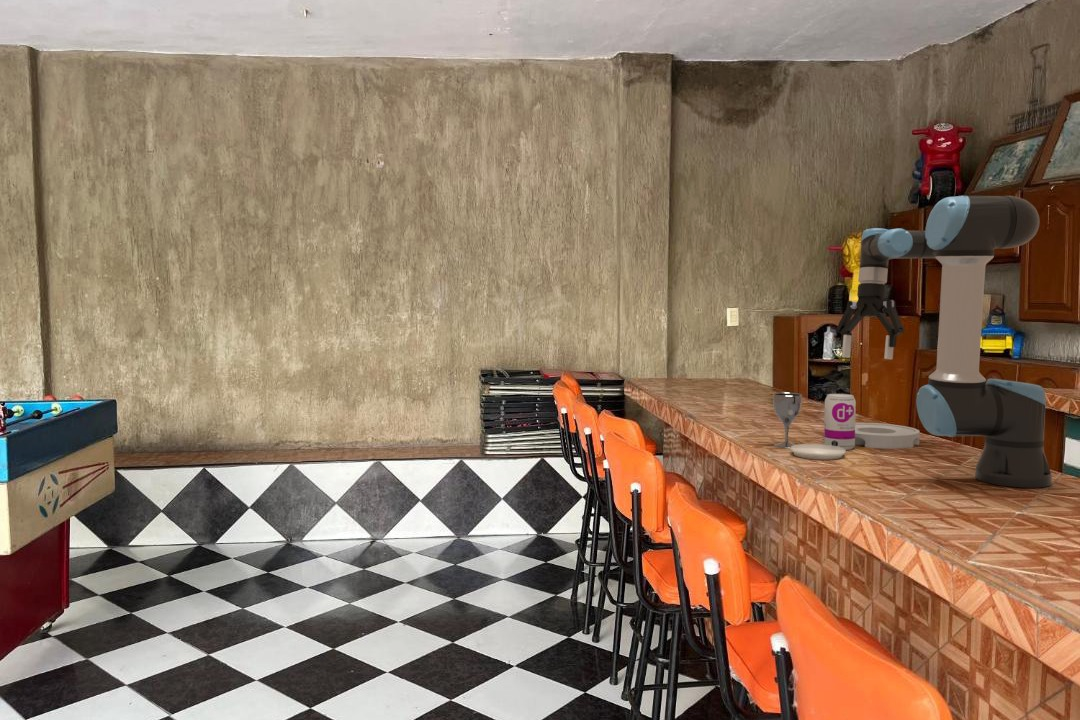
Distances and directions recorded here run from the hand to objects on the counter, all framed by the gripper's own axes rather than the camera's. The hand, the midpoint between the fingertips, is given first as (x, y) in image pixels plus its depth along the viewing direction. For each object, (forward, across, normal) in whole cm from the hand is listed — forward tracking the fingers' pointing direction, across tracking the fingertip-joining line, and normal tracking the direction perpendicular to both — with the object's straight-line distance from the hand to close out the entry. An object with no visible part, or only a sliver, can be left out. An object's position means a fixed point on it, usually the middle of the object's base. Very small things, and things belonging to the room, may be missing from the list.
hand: (866, 358), depth 225 cm
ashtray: (+24, +3, -12) cm, 27 cm away
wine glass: (+27, +13, +15) cm, 34 cm away
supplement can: (+26, +3, +6) cm, 27 cm away
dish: (+28, -1, +19) cm, 34 cm away
